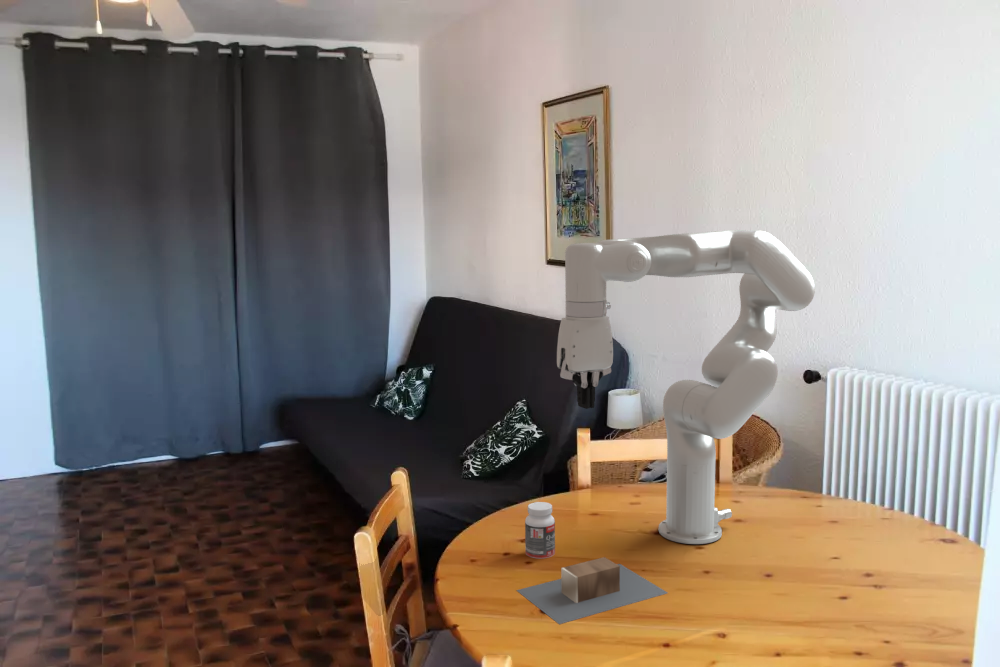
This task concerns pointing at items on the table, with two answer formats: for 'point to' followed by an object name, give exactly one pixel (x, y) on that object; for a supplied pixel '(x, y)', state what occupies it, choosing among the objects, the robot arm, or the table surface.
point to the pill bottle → (540, 531)
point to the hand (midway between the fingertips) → (586, 406)
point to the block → (590, 579)
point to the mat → (567, 610)
